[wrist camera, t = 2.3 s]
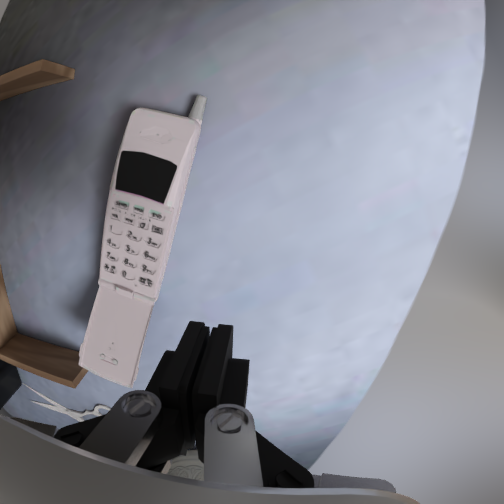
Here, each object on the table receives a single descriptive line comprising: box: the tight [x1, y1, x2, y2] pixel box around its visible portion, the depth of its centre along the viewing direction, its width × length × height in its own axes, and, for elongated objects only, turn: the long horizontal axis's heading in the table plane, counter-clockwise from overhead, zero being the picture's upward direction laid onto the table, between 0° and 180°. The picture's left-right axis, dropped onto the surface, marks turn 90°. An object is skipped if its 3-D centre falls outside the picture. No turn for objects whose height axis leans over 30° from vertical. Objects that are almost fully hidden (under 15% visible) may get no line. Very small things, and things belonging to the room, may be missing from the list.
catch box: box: [0, 59, 88, 388], centre depth 23 cm, size 31×14×5 cm, turn 177°
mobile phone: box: [79, 95, 207, 388], centre depth 23 cm, size 6×6×25 cm
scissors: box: [23, 383, 111, 422], centre depth 34 cm, size 11×1×20 cm
